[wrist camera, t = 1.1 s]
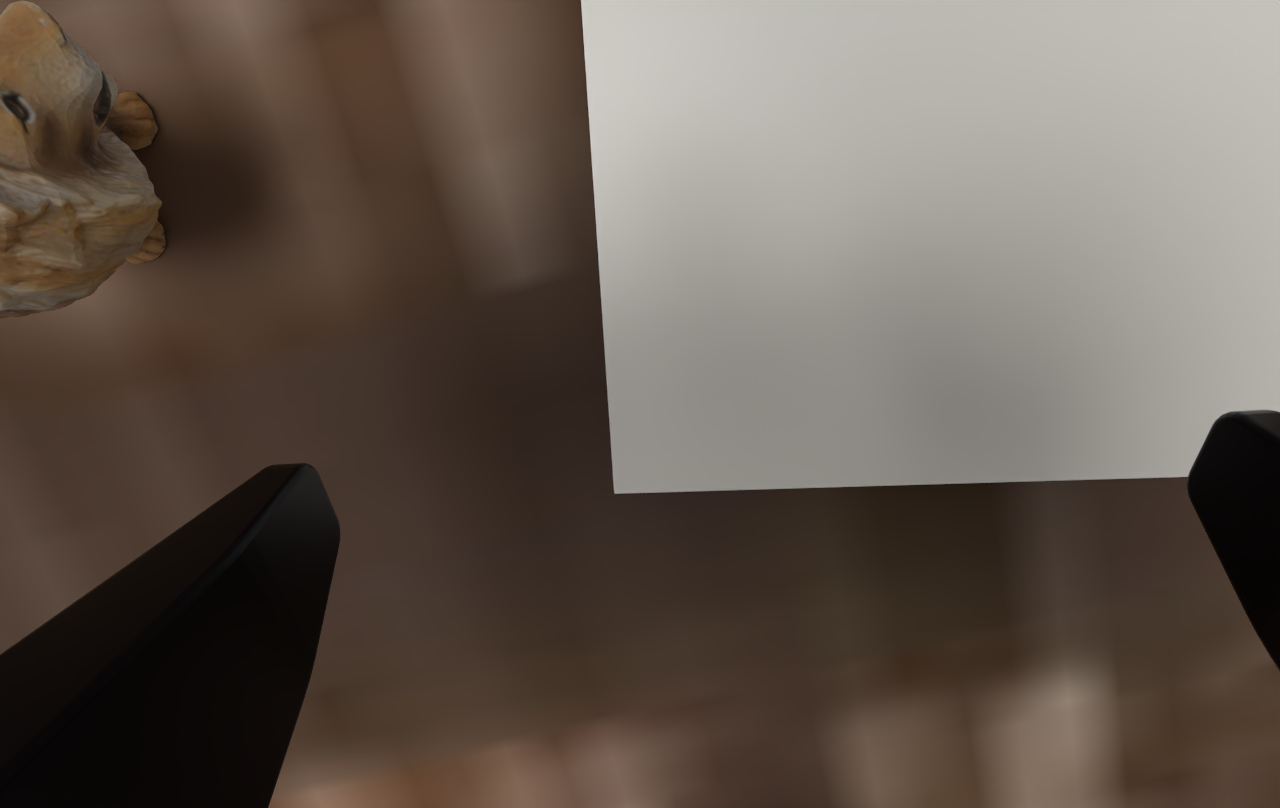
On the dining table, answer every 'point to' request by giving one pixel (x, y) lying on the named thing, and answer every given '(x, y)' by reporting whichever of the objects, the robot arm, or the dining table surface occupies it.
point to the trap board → (931, 236)
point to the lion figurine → (67, 169)
